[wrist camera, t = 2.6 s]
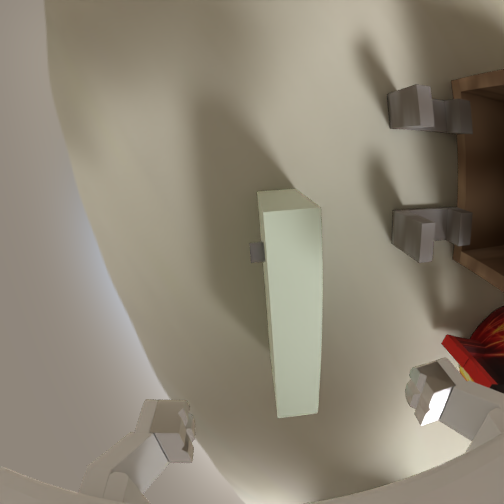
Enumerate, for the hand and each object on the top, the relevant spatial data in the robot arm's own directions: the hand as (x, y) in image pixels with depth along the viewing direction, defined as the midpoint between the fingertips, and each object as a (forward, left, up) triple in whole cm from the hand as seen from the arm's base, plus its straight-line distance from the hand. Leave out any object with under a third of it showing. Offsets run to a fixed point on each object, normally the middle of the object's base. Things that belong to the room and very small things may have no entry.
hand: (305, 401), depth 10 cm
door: (0, 0, -12) cm, 12 cm away
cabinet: (+7, -17, -12) cm, 22 cm away
